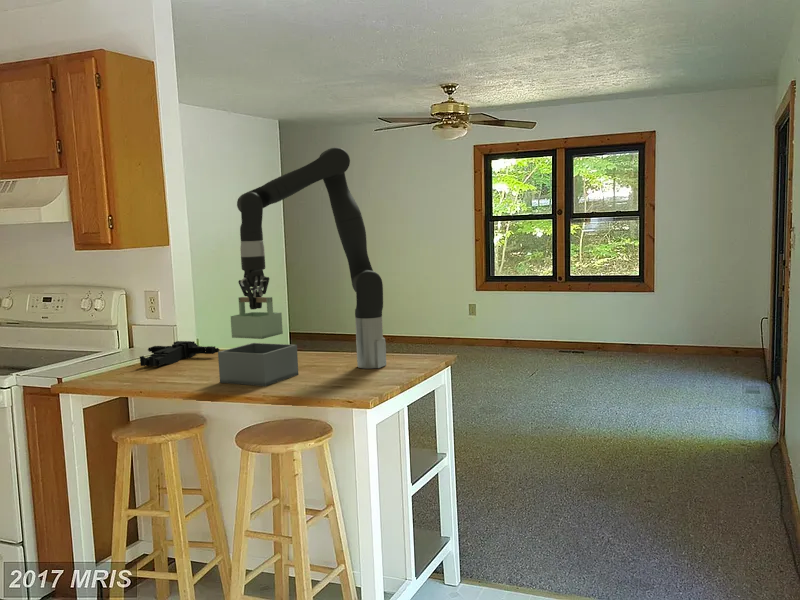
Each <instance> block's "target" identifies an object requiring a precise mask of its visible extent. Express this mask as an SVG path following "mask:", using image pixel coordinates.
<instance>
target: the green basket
mask: <svg viewBox="0 0 800 600" xmlns="http://www.w3.org/2000/svg"><path fill="white" fill-rule="evenodd" d="M255 298H256V302H262V304H264V303H266V311H249V312H246V305H245V304H246V303H249V298H248V297H247V296H241V297H238V309H239V310H238V312H239V314H234V315H230V328H231V331H230V332H231V338H232V339H250V340H251V339H257V340H263V339H267V338H272V337H275V336H276V337H277V336H279V335H283V314H282V312H278V311H277V312H275V311H274V305H273V303H274V302H273V296H269V297H268V296H262V297H255Z"/></svg>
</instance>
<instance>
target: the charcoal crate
mask: <svg viewBox="0 0 800 600" xmlns="http://www.w3.org/2000/svg"><path fill="white" fill-rule="evenodd" d="M298 359H299V358H298V345H297V344H286V343H285V344H283V343H266V342H263V343H261V342H251V343H247V344H244V345H240V346H239V345H238V346H236V347H230V348H228V349H224V350H220V351H219V352H217V361H218V373H219V383H221V384H234V385H244V386H245V385H246V386H259V387H267V386H270V385H273V384H275V383H278V382H282V381H284V380H287V379H290V378H293V377H295V376H296V377H297V376H298V375H299V360H298Z"/></svg>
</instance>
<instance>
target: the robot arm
mask: <svg viewBox="0 0 800 600" xmlns="http://www.w3.org/2000/svg"><path fill="white" fill-rule="evenodd" d="M350 163H351V159H350V155H349V153H348V152H347V151H346V150H345V149H344V148H341V147H335V146H334V147H330V148H328V149H326V150H324V151H323V152H321V154H319V156H318V158H316V159H315V160H313V161H311V162H308V164H306V165H304V166H301V167H300V168H296V169H294V170H292V171H289V172H286V173H285V174H283V175H280V176H278V177H276V178H274V179H272V180H270V181H268V182H266V183H265V184H263V185H262V186H258V187H256V188H254V189H252V190H249V191H247V192H244V193H241V195H240V196H238V199H237V201H236V207H237V209H238V211H239V212H240V214H241V215H240V216H241V223H240V226H239V235H240V247H239V248H240V250H239V251H240V265H241V266H240V267H241V270H242V271H243V272H244V273H243V278H242V279H239V280H238V282H237V283H238V285H239V287H240V289H241V292H242V294H243V297H248V298H249V302H248V303H249V305H248V306H249V309H250V310H258V309H262V308H263V303H262V302H256V298H255V297H264V296H263V295H266V293H267V290H268V286H269V283H270V277H269V276H265V274H264V270H265V269H266V259H265V258H266V255H265V253H266V252H265V245H264V234H263V217H264V216H263V214H264V213H263V210H264V208H267V207H268V206H270V205H272V204H276V203H279V202H281V201H283V200H285V199H287V198H289V197H291V196H293V195H295V194H296V193H298V192H300V191H302V190H304V189H305V188H307V187H309V186H311V185H313V184H315V183H318V182H319V181H323V183H324V185H325V188H326V190H327V193H328V197H329V202H330V207H331V210H332V214H333V217H334V222H335V226H336V229H337V233H338V236H339V237H338V238H340V242H341V245H342V248H343V251H344V254H345V257H346V259H347V263H348V264H347V265H348V268H349V273H350V279H351V286H352V289H353V290H354V292H355V293H356V294H355V296H356V299H355V300H356V306H355V309H354V316H355V339H356V340H355V343H356V362H357V363H356V364H357V367H358V368H360V369H368V370H369V369H380V368H383V367H385V366H387V345H386V344H387V342H386V338H385V337H384V333H383V332H384V329H383V327H384V326H383V310H384V309H383V308H384V284H383V283H384V282H383V280H382V277H381V276H380V275H379V274H378V273H377V272H376V271H374V269H373V267H372V264H371V261H370V258H369V254H368V248H367V247H368V246H367V244H368V243H367V231H366V227H365V223H364V219H363V216H362V212H361V210H360V208H359V206H358V204H357V202H356V199H354V197H353V194H352V193H351V190H349V189H350V188H349V186H348V182H347V179H346V172H347V170H348V169H349V167H350V165H351V164H350Z"/></svg>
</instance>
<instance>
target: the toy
mask: <svg viewBox="0 0 800 600" xmlns="http://www.w3.org/2000/svg"><path fill="white" fill-rule="evenodd" d="M147 351H148V352H150V353H151V354H150V355H149V356H148V357H145V356H144V355H142V356H141V355H140V356H139V362H140V367H160V366H162V365H172V364H176V363H178V362H179V361H180V360H181V359H183V360H184V359H185V360H186V359H191V358H193V357H194V356H195V355H200V354H201V355H202V354H204V355H213V354H214V355H215V354H218V352H219V351H221V350H220V348H219V347H216V346H213V345H211V346H209V345H207V346H201V345H198V344H197V343H196V341H190V340H188V341H187V340H176V341H173V344H171V345H154V346H151V347H148V349H147Z"/></svg>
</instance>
